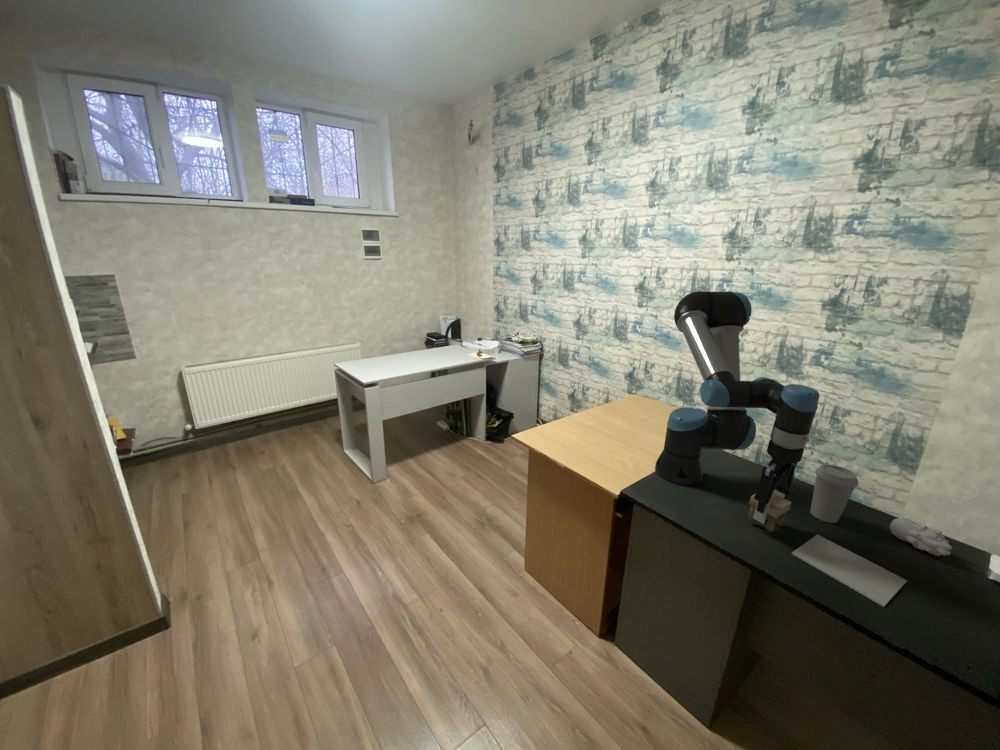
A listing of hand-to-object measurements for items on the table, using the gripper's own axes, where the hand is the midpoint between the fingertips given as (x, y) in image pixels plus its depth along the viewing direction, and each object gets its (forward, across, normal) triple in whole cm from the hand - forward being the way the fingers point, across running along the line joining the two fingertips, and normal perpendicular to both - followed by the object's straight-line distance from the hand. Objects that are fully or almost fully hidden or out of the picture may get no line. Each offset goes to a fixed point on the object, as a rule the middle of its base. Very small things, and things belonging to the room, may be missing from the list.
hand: (766, 516), depth 109 cm
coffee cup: (+4, +21, -6) cm, 22 cm away
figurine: (+3, +28, -24) cm, 37 cm away
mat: (+3, +2, -18) cm, 19 cm away
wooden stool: (+2, 0, 0) cm, 2 cm away
